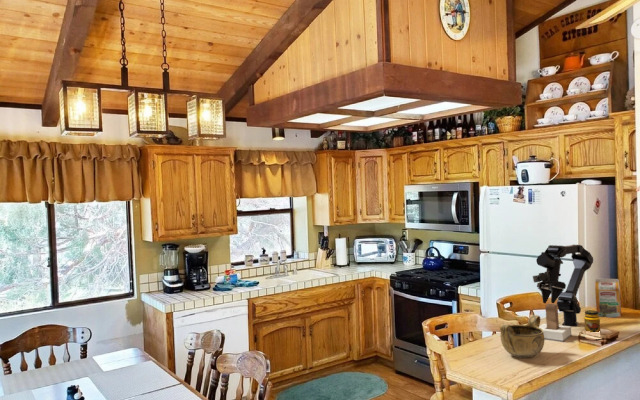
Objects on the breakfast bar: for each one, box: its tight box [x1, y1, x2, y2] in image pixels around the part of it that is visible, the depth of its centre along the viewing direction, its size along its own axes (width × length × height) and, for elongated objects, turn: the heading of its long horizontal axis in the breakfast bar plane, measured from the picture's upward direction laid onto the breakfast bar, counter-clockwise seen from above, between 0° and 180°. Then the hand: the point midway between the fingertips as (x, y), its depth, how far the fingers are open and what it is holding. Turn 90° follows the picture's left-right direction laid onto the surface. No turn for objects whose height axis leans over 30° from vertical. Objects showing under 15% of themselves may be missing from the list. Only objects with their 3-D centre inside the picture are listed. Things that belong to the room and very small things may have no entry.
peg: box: [544, 303, 560, 330], centre depth 232 cm, size 4×4×14 cm
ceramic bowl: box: [499, 314, 545, 359], centre depth 208 cm, size 22×17×15 cm
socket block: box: [539, 323, 572, 343], centre depth 232 cm, size 12×12×4 cm
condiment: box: [583, 309, 601, 332], centre depth 227 cm, size 7×8×12 cm
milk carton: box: [594, 278, 622, 319], centre depth 263 cm, size 10×11×19 cm
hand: (548, 303), depth 241 cm, fingers open, 9 cm apart
